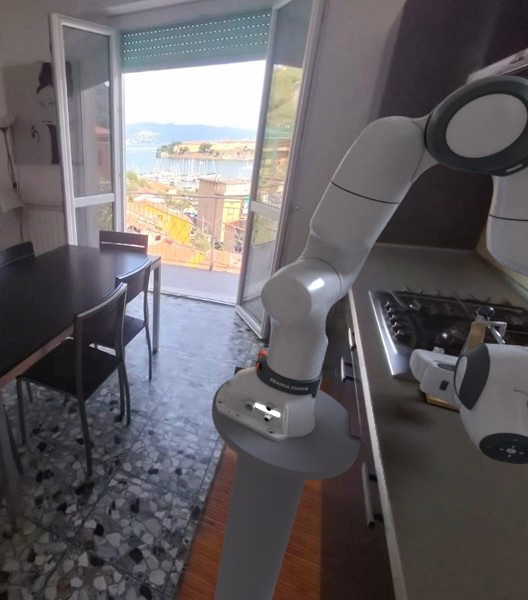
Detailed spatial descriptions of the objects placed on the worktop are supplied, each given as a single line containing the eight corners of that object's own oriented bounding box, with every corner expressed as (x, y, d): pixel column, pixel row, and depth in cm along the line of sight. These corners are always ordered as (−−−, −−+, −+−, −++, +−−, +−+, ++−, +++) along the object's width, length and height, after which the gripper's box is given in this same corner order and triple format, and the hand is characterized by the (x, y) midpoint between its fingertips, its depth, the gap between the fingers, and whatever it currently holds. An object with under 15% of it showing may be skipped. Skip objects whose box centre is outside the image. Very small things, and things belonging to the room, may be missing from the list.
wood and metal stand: (433, 427, 79) (479, 327, 69) (423, 388, 91) (461, 298, 81) (481, 441, 76) (537, 337, 65) (464, 399, 88) (509, 305, 77)
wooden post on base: (452, 396, 79) (466, 324, 73) (448, 383, 83) (460, 315, 77) (493, 402, 76) (511, 327, 70) (486, 389, 80) (503, 317, 74)
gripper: (571, 396, 60) (538, 357, 71) (421, 362, 70) (412, 332, 80) (553, 425, 63) (524, 382, 74) (410, 388, 72) (403, 355, 83)
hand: (464, 356), depth 77 cm, fingers open, 8 cm apart
